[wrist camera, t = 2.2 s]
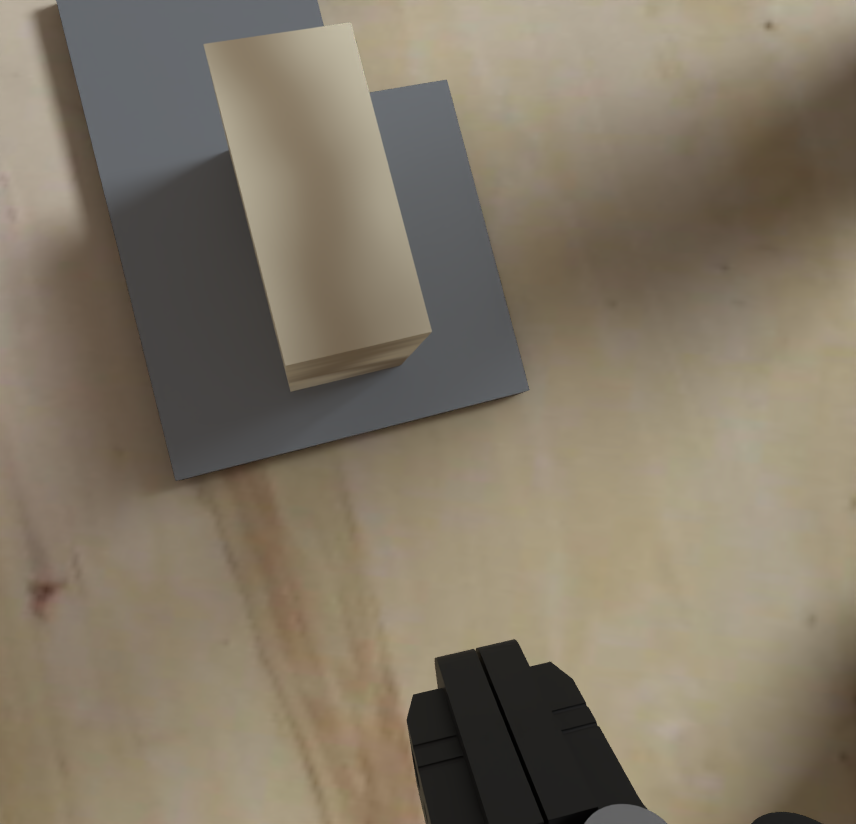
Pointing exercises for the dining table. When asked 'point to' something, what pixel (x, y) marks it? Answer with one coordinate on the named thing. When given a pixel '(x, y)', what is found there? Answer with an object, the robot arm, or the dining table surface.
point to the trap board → (233, 249)
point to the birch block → (319, 203)
